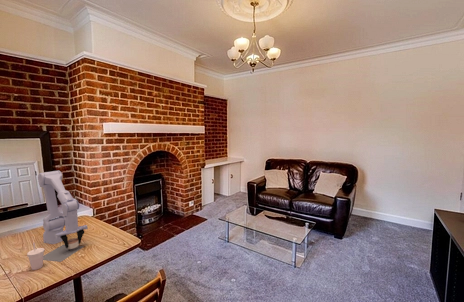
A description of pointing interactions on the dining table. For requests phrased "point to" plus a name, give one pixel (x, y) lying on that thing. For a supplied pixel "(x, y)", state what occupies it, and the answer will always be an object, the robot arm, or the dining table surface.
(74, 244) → the cap
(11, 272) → the dining table surface
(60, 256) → the knob mounting plate
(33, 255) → the smoothie
